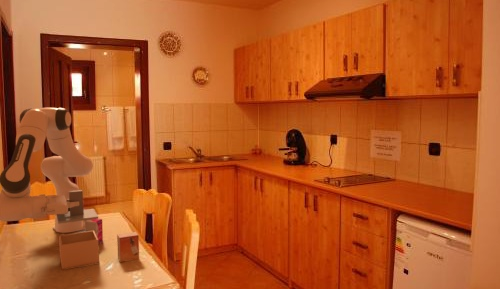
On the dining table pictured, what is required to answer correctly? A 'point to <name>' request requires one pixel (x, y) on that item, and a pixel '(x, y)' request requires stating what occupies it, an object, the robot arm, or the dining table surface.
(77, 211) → the grey plate with knob
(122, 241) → the small box
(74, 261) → the large tan box
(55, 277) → the dining table surface
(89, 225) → the supplement box
